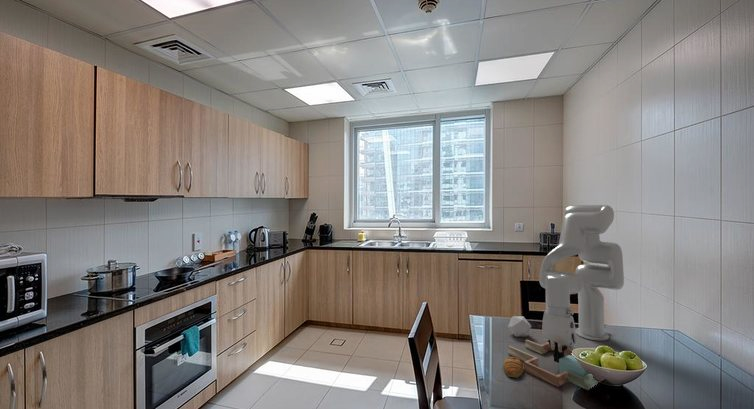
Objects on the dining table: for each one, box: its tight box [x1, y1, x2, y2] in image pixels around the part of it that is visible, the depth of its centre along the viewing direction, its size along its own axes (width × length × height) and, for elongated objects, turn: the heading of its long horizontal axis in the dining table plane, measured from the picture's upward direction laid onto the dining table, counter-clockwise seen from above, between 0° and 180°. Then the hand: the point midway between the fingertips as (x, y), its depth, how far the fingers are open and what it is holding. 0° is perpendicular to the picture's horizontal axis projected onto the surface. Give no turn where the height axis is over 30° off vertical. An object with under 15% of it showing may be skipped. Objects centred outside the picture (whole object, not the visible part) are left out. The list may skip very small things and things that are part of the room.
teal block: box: [558, 355, 588, 377], centre depth 107 cm, size 6×8×5 cm
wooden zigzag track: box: [507, 339, 599, 391], centre depth 114 cm, size 24×29×4 cm
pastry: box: [502, 356, 524, 378], centre depth 110 cm, size 9×7×4 cm
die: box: [507, 315, 532, 338], centre depth 141 cm, size 8×9×10 cm
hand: (558, 361), depth 112 cm, fingers closed
